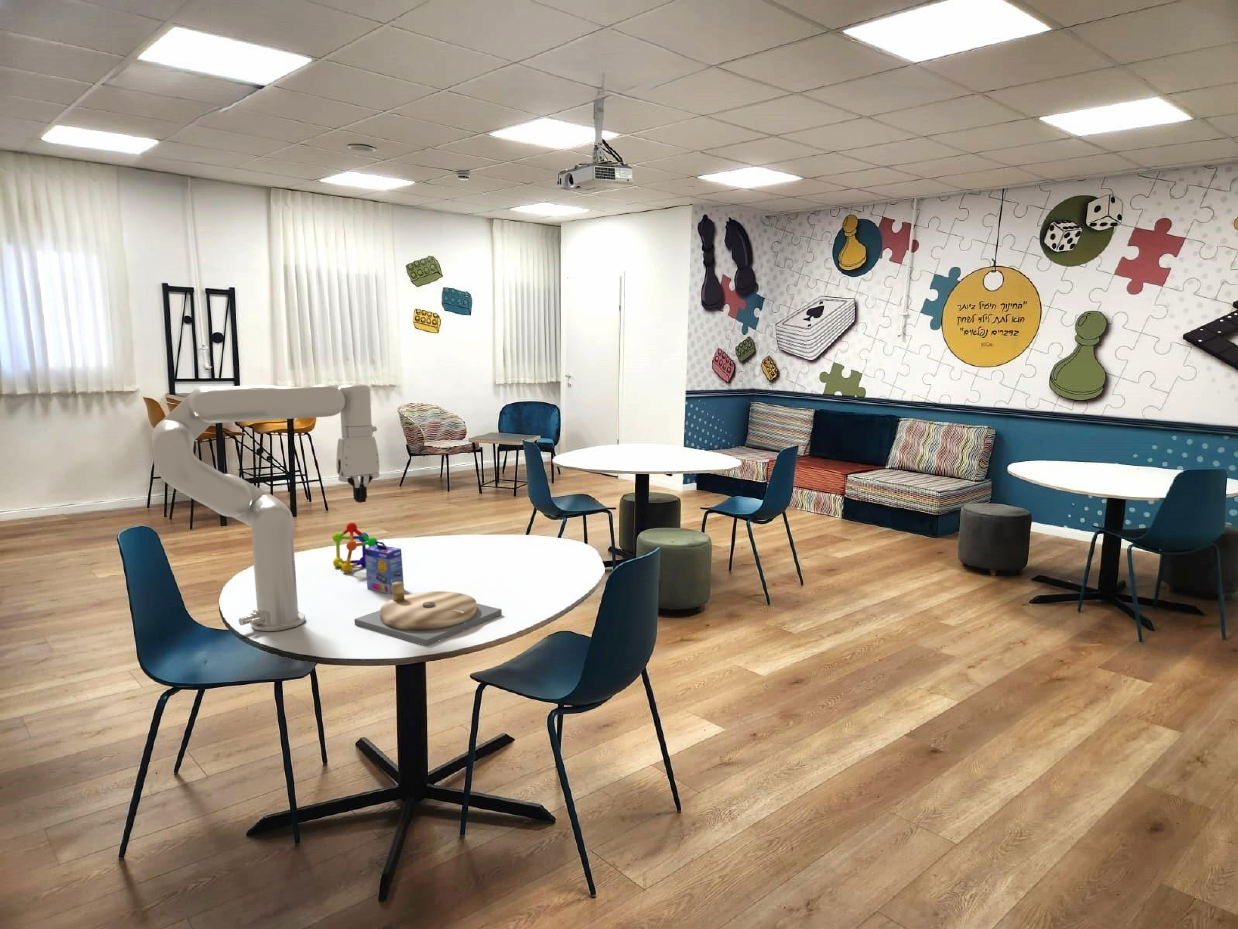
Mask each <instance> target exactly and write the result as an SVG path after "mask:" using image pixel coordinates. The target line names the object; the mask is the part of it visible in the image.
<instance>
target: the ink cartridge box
mask: <svg viewBox="0 0 1238 929" xmlns="http://www.w3.org/2000/svg"><path fill="white" fill-rule="evenodd" d="M374 542H375V544H376V545H375V546H371V547H369V546H368V547H366V548H365V560H366V566H365V572H366V573H365V574H366V586H367V588H366V589H368V590H373V591H376V592H380V593H384V594H389V595H392V583H394V582H403V583H404V573H403V572H404V571H403V570H404V569H403V556H402V555H403V553H402V549H401V548H400V547H394V546H387V545H386V544H385V543H384V542H382V541H378V540H377V541H374Z"/></svg>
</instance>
